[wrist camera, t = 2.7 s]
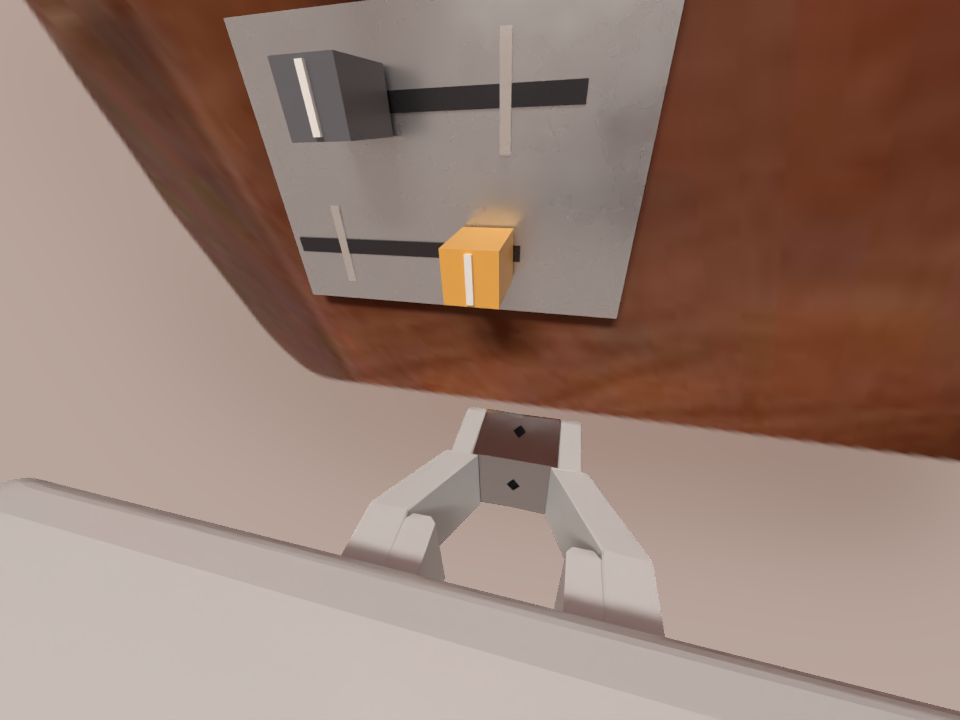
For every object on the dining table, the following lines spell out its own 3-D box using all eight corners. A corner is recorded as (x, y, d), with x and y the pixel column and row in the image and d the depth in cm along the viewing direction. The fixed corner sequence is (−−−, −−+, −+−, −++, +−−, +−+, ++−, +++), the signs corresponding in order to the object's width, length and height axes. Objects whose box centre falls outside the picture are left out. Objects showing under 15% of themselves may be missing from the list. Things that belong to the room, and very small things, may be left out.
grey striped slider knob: (382, 63, 18) (329, 48, 14) (393, 136, 20) (348, 141, 16) (328, 67, 19) (263, 54, 15) (343, 138, 20) (289, 143, 17)
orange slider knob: (513, 228, 21) (498, 252, 17) (512, 279, 23) (498, 310, 19) (462, 227, 22) (437, 249, 18) (465, 276, 23) (442, 306, 20)
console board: (686, -31, 15) (694, -42, 14) (615, 310, 24) (616, 319, 23) (241, 23, 20) (221, 17, 19) (322, 288, 29) (312, 294, 28)
